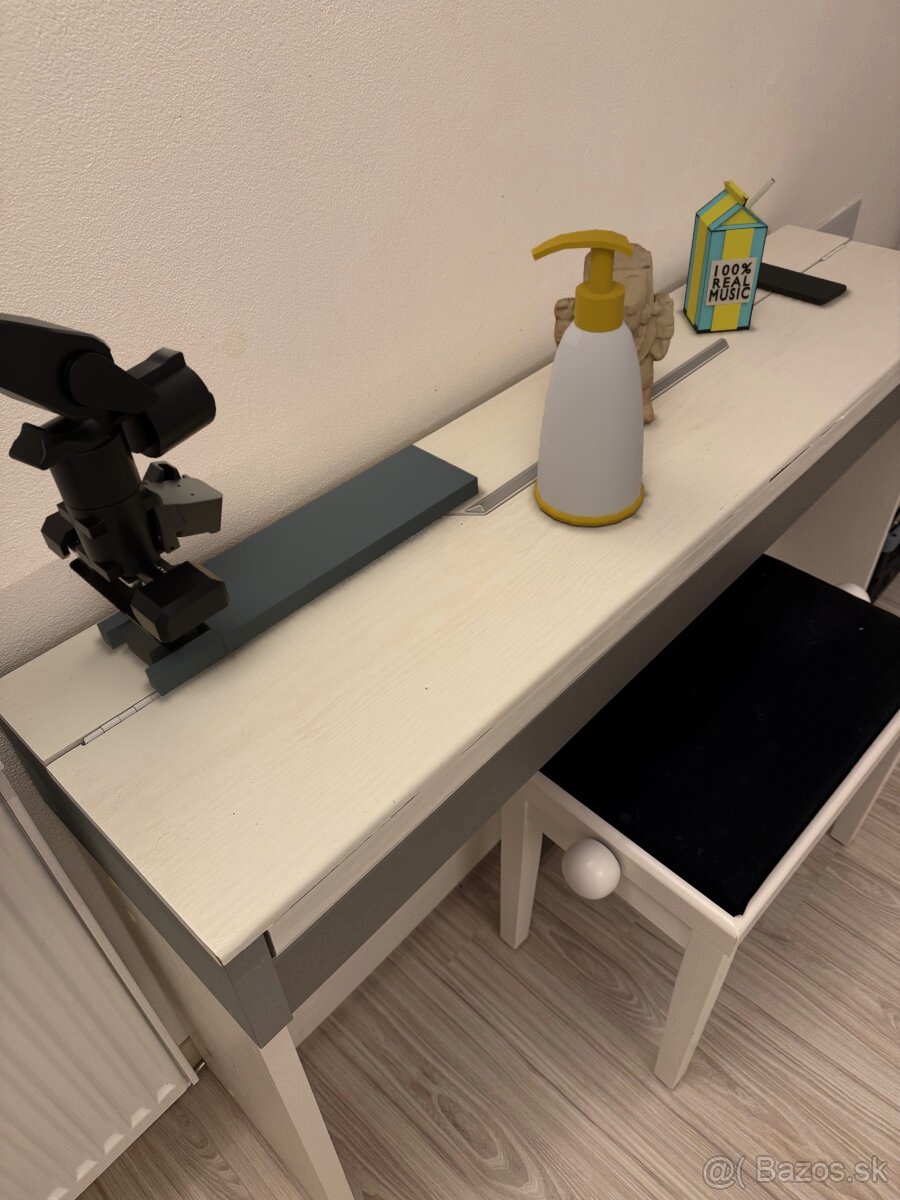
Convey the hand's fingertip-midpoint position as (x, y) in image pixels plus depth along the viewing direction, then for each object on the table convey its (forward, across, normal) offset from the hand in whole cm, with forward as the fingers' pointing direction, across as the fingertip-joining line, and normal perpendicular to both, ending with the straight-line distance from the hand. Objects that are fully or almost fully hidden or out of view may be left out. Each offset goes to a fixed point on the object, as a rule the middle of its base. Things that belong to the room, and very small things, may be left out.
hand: (160, 637), depth 75 cm
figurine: (+1, -8, -54) cm, 55 cm away
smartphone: (+1, -6, -101) cm, 101 cm away
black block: (+1, 0, 0) cm, 1 cm away
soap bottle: (+1, -15, -41) cm, 44 cm away
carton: (+1, -4, -85) cm, 85 cm away
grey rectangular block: (+1, 0, -16) cm, 16 cm away
